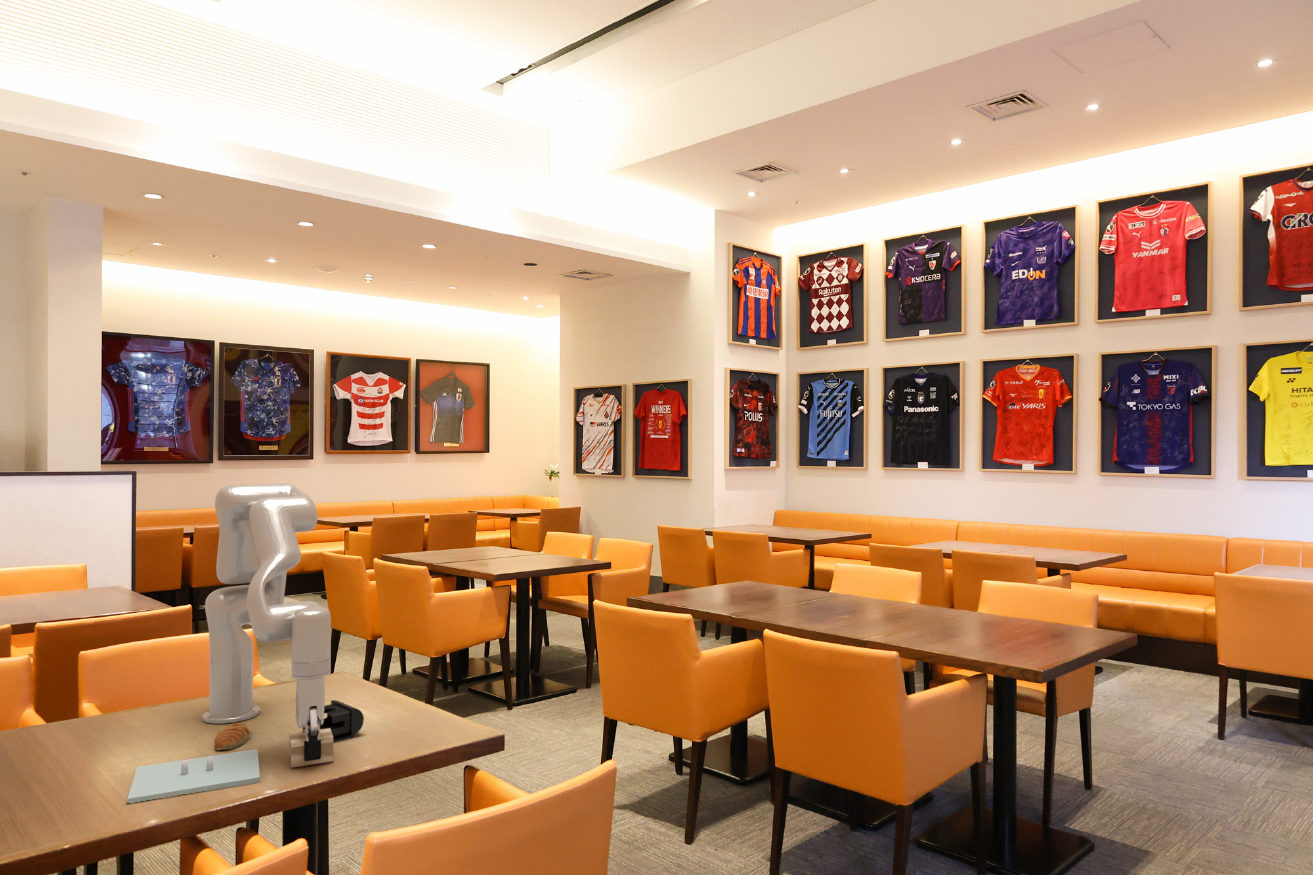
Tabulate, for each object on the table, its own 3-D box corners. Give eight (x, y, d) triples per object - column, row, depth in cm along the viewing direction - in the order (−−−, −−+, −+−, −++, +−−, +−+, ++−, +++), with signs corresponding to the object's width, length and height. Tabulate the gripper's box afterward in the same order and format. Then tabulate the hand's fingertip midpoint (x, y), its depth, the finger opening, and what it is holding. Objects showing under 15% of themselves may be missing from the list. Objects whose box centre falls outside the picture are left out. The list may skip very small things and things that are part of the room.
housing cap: (289, 757, 176) (289, 733, 176) (330, 751, 180) (330, 728, 180) (291, 767, 171) (291, 742, 171) (333, 760, 175) (333, 736, 175)
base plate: (137, 771, 171) (137, 754, 171) (257, 753, 181) (257, 737, 181) (127, 804, 155) (127, 785, 155) (259, 782, 165) (259, 764, 165)
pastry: (239, 751, 183) (239, 733, 183) (206, 754, 181) (206, 736, 182) (252, 737, 192) (252, 720, 192) (220, 739, 191) (220, 722, 191)
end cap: (364, 735, 192) (364, 705, 192) (334, 743, 187) (334, 712, 187) (343, 726, 199) (343, 697, 199) (314, 733, 194) (314, 704, 194)
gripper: (289, 660, 182) (289, 744, 182) (294, 680, 166) (294, 771, 166) (326, 656, 185) (326, 738, 185) (334, 675, 170) (334, 765, 170)
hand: (311, 753), depth 176 cm, fingers closed on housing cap, 6 cm apart
